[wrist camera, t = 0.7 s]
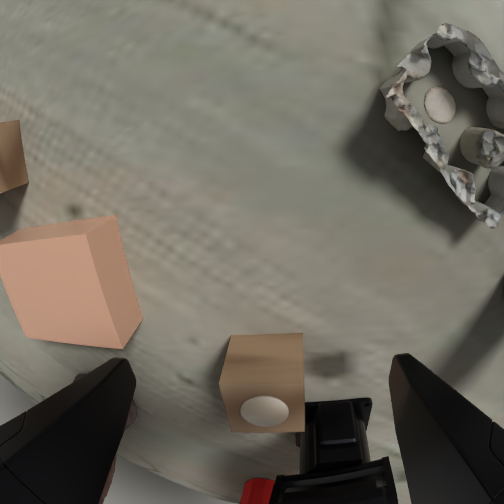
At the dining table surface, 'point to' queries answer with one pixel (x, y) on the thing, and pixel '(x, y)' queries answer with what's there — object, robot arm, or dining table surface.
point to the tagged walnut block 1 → (11, 157)
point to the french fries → (257, 491)
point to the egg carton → (443, 110)
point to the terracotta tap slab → (71, 282)
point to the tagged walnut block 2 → (264, 383)
